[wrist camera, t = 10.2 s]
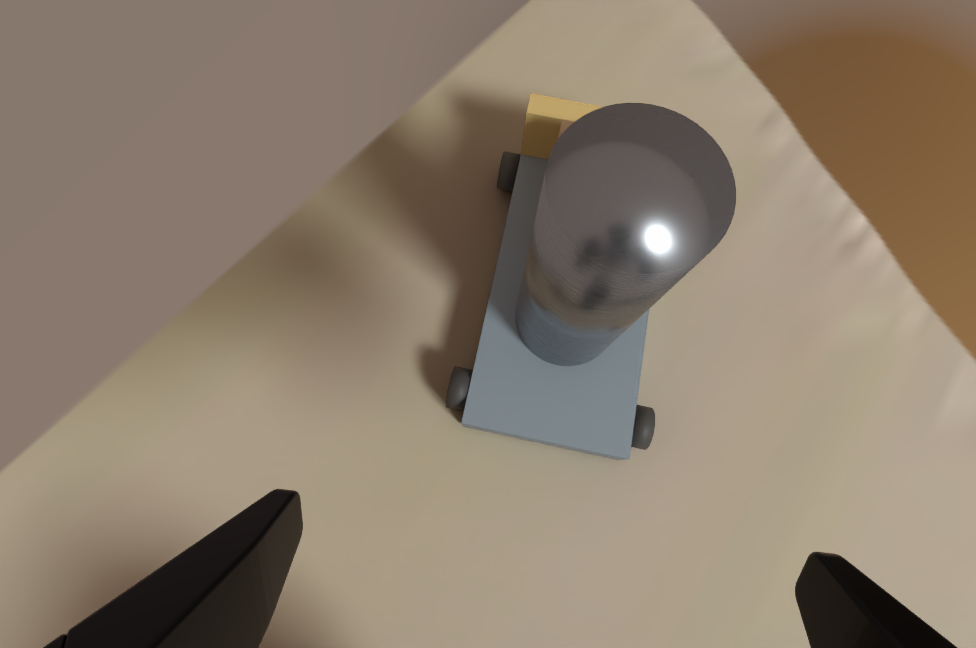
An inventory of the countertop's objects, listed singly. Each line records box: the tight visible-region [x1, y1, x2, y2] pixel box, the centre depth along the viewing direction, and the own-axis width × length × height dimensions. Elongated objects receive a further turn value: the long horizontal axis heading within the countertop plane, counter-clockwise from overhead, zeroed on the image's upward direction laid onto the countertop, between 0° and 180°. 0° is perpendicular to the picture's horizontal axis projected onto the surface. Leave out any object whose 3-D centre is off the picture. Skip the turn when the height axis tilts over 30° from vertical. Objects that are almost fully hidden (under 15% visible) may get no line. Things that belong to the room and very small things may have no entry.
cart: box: [446, 93, 655, 460], centre depth 22 cm, size 14×9×5 cm, turn 168°
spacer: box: [515, 103, 736, 366], centre depth 17 cm, size 4×4×11 cm
